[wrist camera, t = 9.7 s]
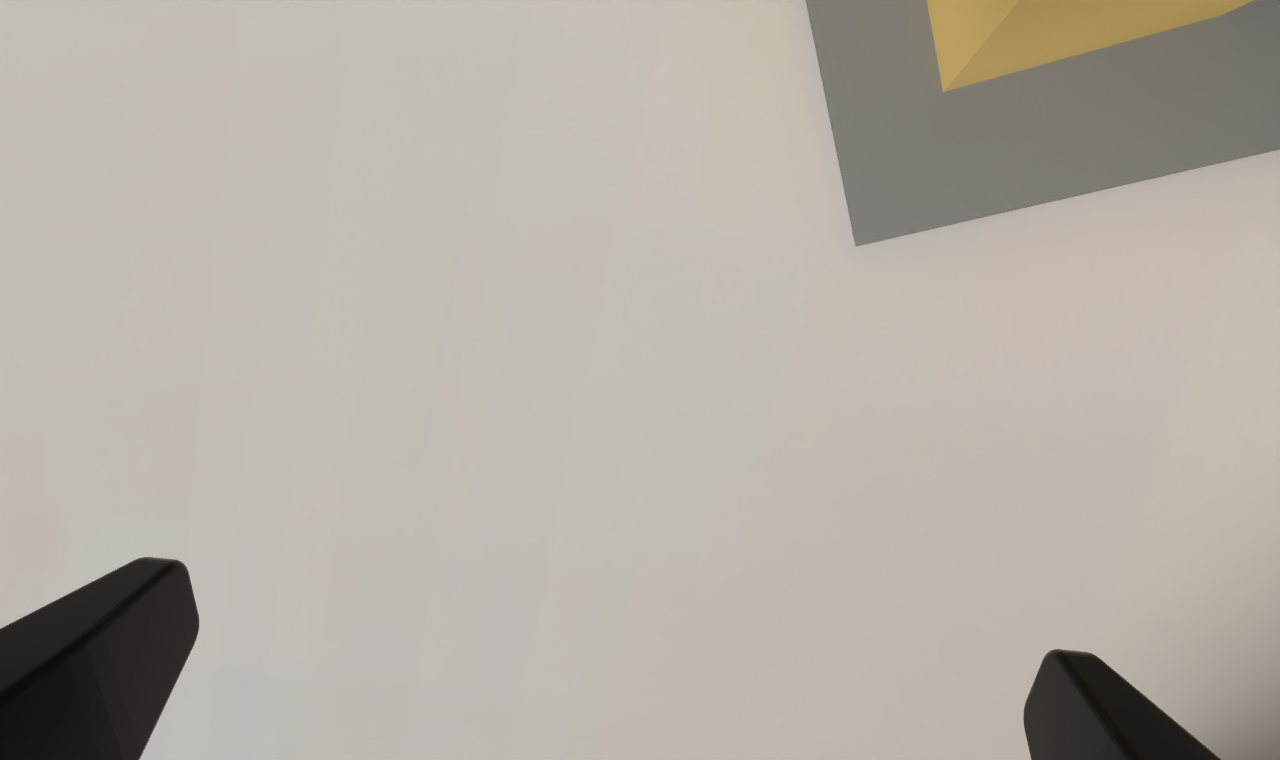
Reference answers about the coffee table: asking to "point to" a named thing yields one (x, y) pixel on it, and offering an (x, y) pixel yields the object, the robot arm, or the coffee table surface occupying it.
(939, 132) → the mat
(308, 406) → the coffee table surface
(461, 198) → the coffee table surface
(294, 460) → the coffee table surface
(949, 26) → the mustard yellow box
